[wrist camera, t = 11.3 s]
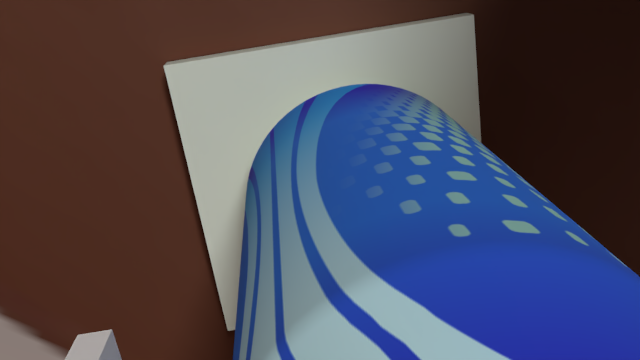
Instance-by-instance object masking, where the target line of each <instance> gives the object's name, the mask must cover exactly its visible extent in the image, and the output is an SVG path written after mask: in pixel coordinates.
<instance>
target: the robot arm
mask: <svg viewBox="0 0 640 360" xmlns="http://www.w3.org/2000/svg"><path fill="white" fill-rule="evenodd" d="M65 360H122V359H121V356H120V353H119V350H118V347H117V344H116V340H115V337H114V334H113V331H112V329H111V330H105V331H99V332H93V333H87V334H81V335H77V337H76V339H75V341H74V343H73V345H72V347H71V349H70V351H69V353H68V355H67V356H66V358H65Z"/></svg>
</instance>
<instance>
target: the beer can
mask: <svg viewBox="0 0 640 360" xmlns="http://www.w3.org/2000/svg"><path fill="white" fill-rule="evenodd" d="M233 360H640V277H639V276H638V275H637V274H636V273H635V272H633V271H632V270H631V269H630V268H629V267H627V266H626V265H625V264H624V263H623V262H621V261H620V260H619V259H618V258H617V257H616V256H614V255H613V254H612V253H611V252H610V251H608V250H607V249H606V248H605V247H604V246H603V245H601V244H600V243H599V242H598V241H597V240H595V239H594V238H593V237H592V236H591V235H590V234H588V233H587V232H586V231H585V230H584V229H582V228H581V227H580V226H579V225H578V224H577V223H575V222H574V221H573V220H572V219H571V218H569V217H568V216H567V215H566V214H565V213H563V212H562V211H561V210H560V209H559V208H558V207H556V206H555V205H554V204H553V203H552V202H550V201H549V200H548V199H547V198H546V197H545V196H543V195H542V194H541V193H540V192H539V191H537V190H536V189H535V188H534V187H533V186H532V185H530V184H529V183H528V182H527V181H526V180H524V179H523V178H522V177H521V176H520V175H519V174H517V173H516V172H515V171H514V170H513V169H511V168H510V167H509V166H508V165H507V164H505V163H504V162H503V161H502V160H501V159H500V158H498V157H497V156H496V155H495V154H494V153H492V152H491V151H490V150H489V149H488V148H487V147H485V146H484V145H483V144H482V143H481V142H479V141H478V140H477V139H476V138H475V137H474V136H472V135H471V134H470V133H469V132H468V131H466V130H465V129H464V128H463V127H462V126H460V125H459V124H458V123H457V122H456V121H455V120H453V119H452V118H451V117H450V116H449V115H447V114H446V113H445V112H444V111H443V110H442V109H440V108H439V107H438V106H436V105H435V104H434V103H432V102H430V101H429V100H427V99H425V98H424V97H422V96H420V95H418V94H415V93H413V92H411V91H408V90H405V89H402V88H398V87H393V86H389V85H381V84H355V85H348V86H342V87H338V88H335V89H331V90H328V91H325V92H323V93H320V94H318V95H316V96H314V97H312V98H310V99H307V100H306V101H304V102H303V103H301V104H299V105H298V106H296V107H295V108H294V109H292V110H291V111H290V112H288V113H287V114H286V115H285V116H284V117H283V118H282V119H281V120H280V121H279V122H278V123H277V124H276V125H275V126H274V127H273V128H272V130H271V131H270V132H269V134H268V135H267V136H266V138H265V139H264V141H263V142H262V144H261V146H260V148H259V149H258V151H257V153H256V156H255V158H254V160H253V163H252V166H251V169H250V172H249V177H248V182H247V191H246V202H245V215H244V227H243V239H242V252H241V264H240V277H239V289H238V302H237V314H236V326H235V339H234V351H233Z"/></svg>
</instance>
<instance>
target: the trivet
mask: <svg viewBox="0 0 640 360" xmlns="http://www.w3.org/2000/svg"><path fill="white" fill-rule="evenodd" d="M164 70H165V74H166V78H167V82H168V86H169V90H170V94H171V98H172V103H173V107H174V111H175V115H176V119H177V123H178V127H179V132H180V136H181V140H182V144H183V148H184V152H185V156H186V161H187V165H188V169H189V173H190V177H191V181H192V185H193V189H194V194H195V198H196V202H197V206H198V210H199V214H200V218H201V223H202V227H203V231H204V235H205V239H206V243H207V247H208V251H209V256H210V260H211V264H212V268H213V272H214V276H215V280H216V285H217V289H218V293H219V297H220V301H221V305H222V309H223V314H224V318H225V322H226V326H227V330H228V331H231V330H235V326H236V314H237V302H238V289H239V277H240V264H241V252H242V239H243V227H244V215H245V202H246V191H247V182H248V177H249V172H250V169H251V166H252V163H253V160H254V158H255V156H256V153H257V151H258V149H259V148H260V146H261V144H262V142H263V141H264V139H265V138H266V136H267V135H268V134H269V132H270V131H271V130H272V128H273V127H274V126H275V125H276V124H277V123H278V122H279V121H280V120H281V119H282V118H283V117H284V116H285V115H286V114H287V113H288V112H290V111H291V110H292V109H294V108H295V107H296V106H298V105H299V104H301V103H303V102H304V101H306V100H307V99H310V98H312V97H314V96H316V95H318V94H320V93H323V92H325V91H328V90H331V89H335V88H338V87H342V86H348V85H355V84H381V85H389V86H393V87H398V88H402V89H405V90H408V91H411V92H413V93H415V94H418V95H420V96H422V97H424V98H425V99H427V100H429V101H430V102H432V103H434V104H435V105H436V106H438V107H439V108H440V109H442V110H443V111H444V112H445V113H446V114H447V115H449V116H450V117H451V118H452V119H453V120H455V121H456V122H457V123H458V124H459V125H460V126H462V127H463V128H464V129H465V130H466V131H468V132H469V133H470V134H471V135H472V136H474V137H475V138H476V139H477V140H478V141H479V142H481V128H480V111H479V94H478V77H477V59H476V42H475V25H474V15H473V14H470V13H462V14H456V15H450V16H444V17H438V18H432V19H426V20H420V21H414V22H408V23H401V24H395V25H389V26H383V27H377V28H371V29H365V30H359V31H353V32H347V33H341V34H335V35H329V36H323V37H316V38H310V39H304V40H298V41H292V42H286V43H280V44H274V45H268V46H262V47H256V48H250V49H244V50H237V51H231V52H225V53H219V54H213V55H207V56H201V57H195V58H189V59H183V60H177V61H171V62H167V63H166V64H165V65H164Z"/></svg>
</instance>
